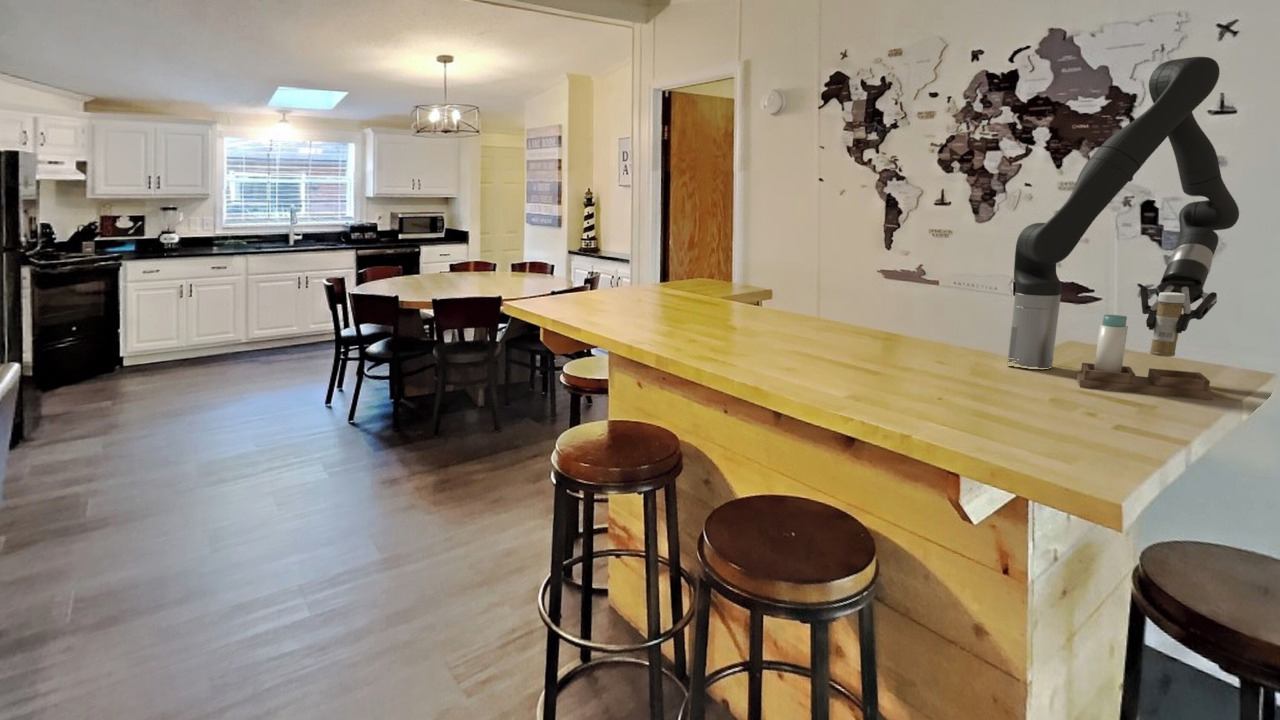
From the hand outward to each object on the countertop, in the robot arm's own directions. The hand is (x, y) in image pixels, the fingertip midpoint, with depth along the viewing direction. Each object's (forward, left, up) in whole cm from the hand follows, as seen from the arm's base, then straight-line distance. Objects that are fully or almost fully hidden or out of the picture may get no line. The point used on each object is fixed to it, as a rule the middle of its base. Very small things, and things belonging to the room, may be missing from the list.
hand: (1164, 328), depth 149 cm
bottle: (-10, -9, -10) cm, 17 cm away
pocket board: (-4, -9, -11) cm, 15 cm away
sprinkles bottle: (0, +2, -6) cm, 6 cm away
